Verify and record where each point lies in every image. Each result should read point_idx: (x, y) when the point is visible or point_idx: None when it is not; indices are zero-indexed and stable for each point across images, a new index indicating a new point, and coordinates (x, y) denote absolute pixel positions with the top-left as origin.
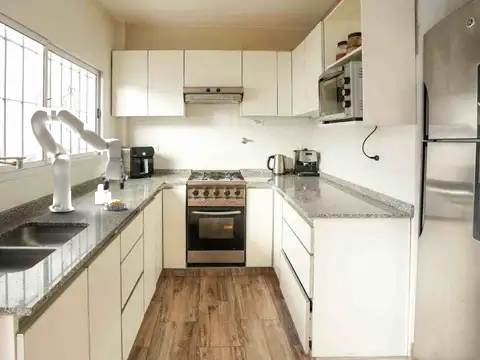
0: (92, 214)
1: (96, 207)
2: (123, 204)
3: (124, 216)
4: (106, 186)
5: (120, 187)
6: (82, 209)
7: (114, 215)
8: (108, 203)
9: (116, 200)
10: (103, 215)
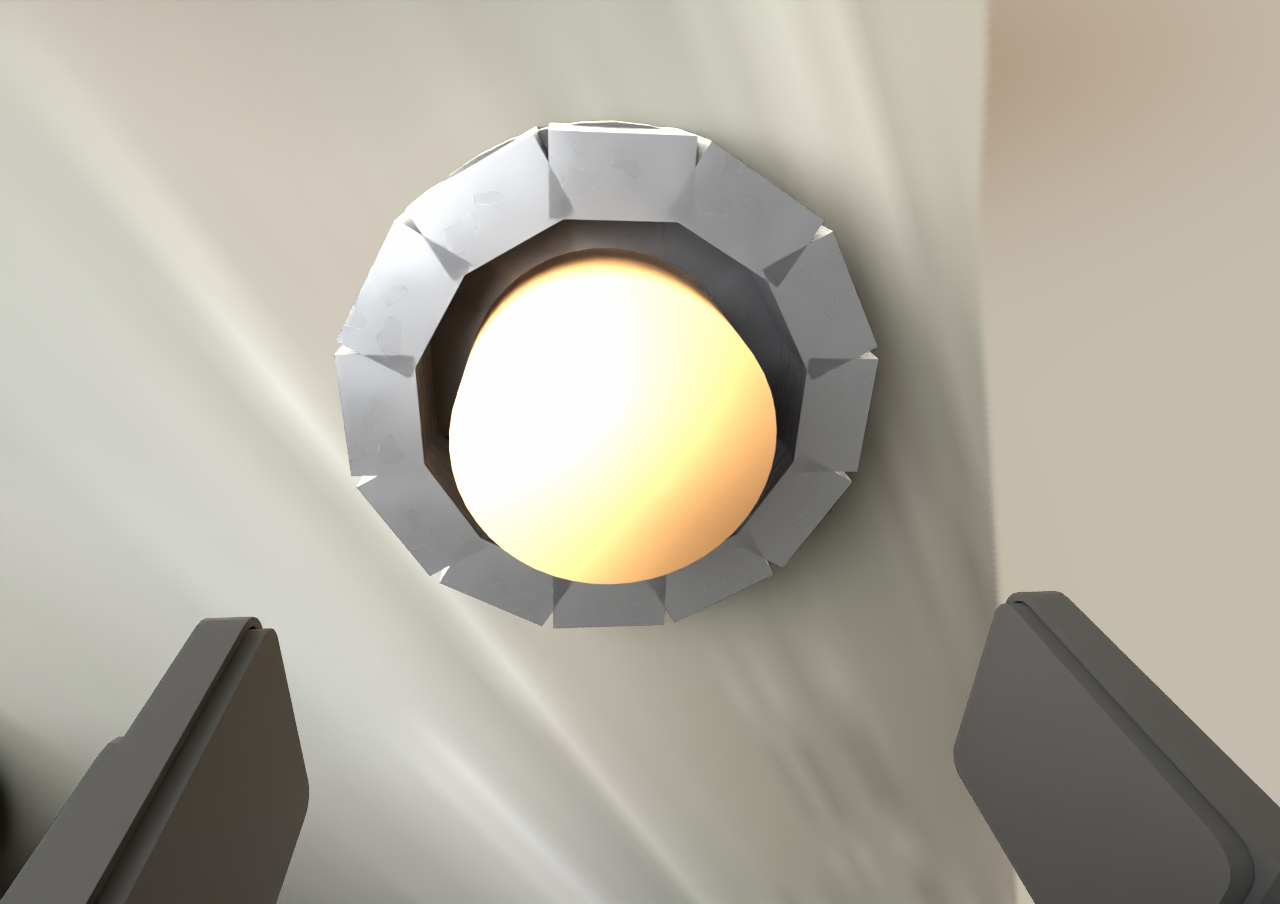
0: (539, 886)
1: (60, 303)
2: (855, 464)
3: (1007, 872)
4: (276, 890)
5: (1010, 836)
6: (11, 609)
7: (862, 860)
8: (417, 402)
9: (635, 395)
10: (722, 894)
